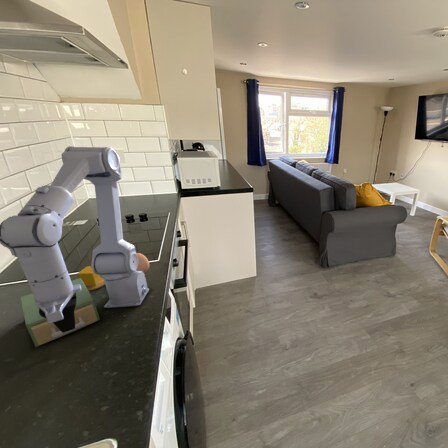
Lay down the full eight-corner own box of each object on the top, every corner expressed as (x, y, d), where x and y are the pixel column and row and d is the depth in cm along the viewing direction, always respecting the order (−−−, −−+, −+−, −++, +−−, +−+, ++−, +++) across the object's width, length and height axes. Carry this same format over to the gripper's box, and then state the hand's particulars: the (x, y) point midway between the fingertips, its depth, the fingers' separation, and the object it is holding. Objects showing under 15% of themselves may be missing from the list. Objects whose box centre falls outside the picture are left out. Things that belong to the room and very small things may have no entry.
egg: (152, 268, 95) (148, 247, 92) (149, 279, 88) (144, 257, 85) (129, 271, 92) (123, 250, 89) (124, 283, 86) (118, 260, 83)
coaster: (115, 274, 90) (115, 273, 90) (101, 290, 82) (101, 289, 82) (86, 276, 89) (86, 275, 89) (69, 292, 81) (69, 291, 81)
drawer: (102, 328, 66) (97, 313, 64) (41, 356, 58) (33, 339, 56) (85, 298, 77) (80, 284, 75) (32, 317, 69) (25, 302, 67)
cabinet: (100, 319, 70) (93, 299, 68) (35, 347, 61) (25, 325, 59) (86, 296, 79) (80, 277, 77) (29, 317, 70) (20, 297, 68)
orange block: (96, 285, 83) (92, 273, 82) (81, 285, 83) (77, 273, 82) (105, 277, 88) (101, 265, 86) (91, 277, 87) (87, 265, 86)
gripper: (74, 284, 48) (94, 341, 53) (74, 253, 58) (90, 303, 63) (19, 299, 43) (46, 359, 48) (30, 263, 54) (51, 315, 59)
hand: (68, 328), depth 55 cm, fingers closed
